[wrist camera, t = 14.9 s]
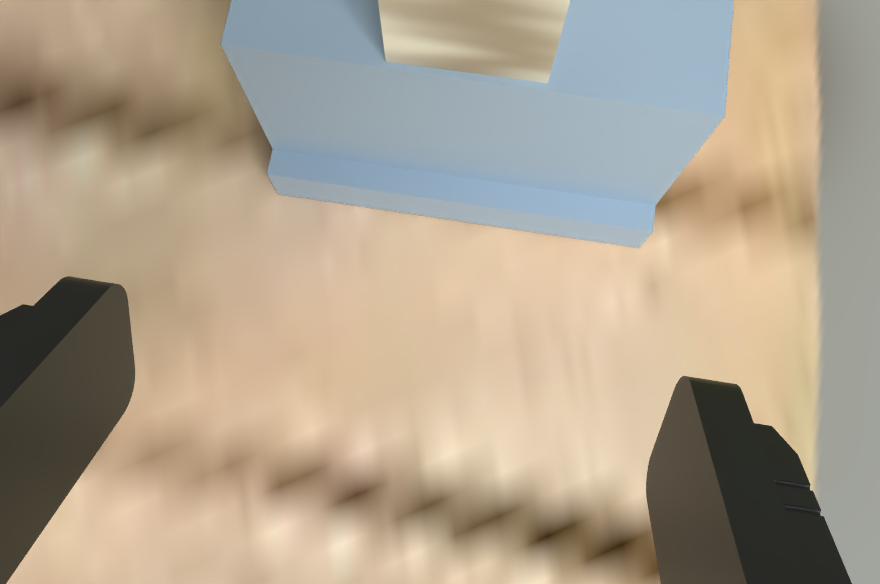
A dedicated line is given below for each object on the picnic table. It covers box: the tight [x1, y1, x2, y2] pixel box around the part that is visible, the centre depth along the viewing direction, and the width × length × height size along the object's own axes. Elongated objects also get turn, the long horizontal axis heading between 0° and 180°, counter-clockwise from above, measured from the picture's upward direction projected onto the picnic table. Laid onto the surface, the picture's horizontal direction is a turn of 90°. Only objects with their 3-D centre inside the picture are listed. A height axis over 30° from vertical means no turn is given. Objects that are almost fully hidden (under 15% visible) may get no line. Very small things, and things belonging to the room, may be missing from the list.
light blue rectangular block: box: [221, 0, 734, 248], centre depth 26 cm, size 14×7×9 cm, turn 81°
